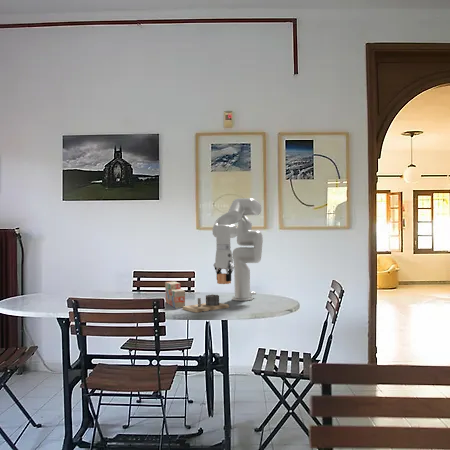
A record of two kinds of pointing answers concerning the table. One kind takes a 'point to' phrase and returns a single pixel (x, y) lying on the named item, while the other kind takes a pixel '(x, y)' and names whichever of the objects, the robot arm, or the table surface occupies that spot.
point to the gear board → (207, 304)
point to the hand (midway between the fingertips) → (223, 280)
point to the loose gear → (222, 279)
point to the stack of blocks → (174, 294)
